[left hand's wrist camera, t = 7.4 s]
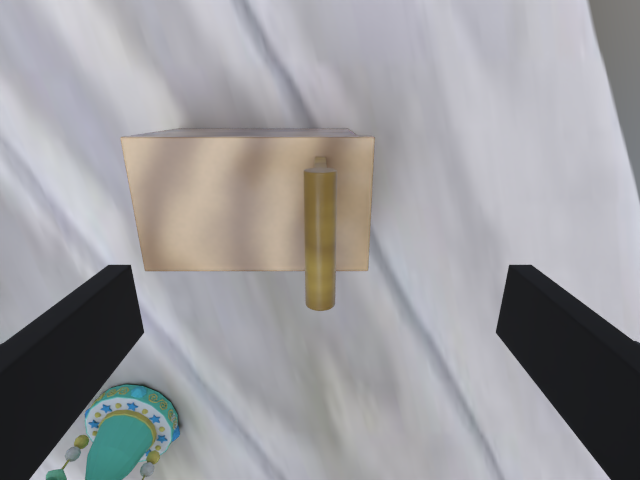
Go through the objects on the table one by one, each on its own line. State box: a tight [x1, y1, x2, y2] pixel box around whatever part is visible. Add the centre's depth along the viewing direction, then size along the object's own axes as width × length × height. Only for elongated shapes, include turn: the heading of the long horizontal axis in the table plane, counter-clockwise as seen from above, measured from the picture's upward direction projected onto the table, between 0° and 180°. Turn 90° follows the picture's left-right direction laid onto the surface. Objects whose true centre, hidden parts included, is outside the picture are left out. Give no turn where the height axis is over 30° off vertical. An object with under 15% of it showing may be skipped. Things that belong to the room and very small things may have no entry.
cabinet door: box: [120, 136, 375, 311], centre depth 21 cm, size 16×9×8 cm, turn 90°
